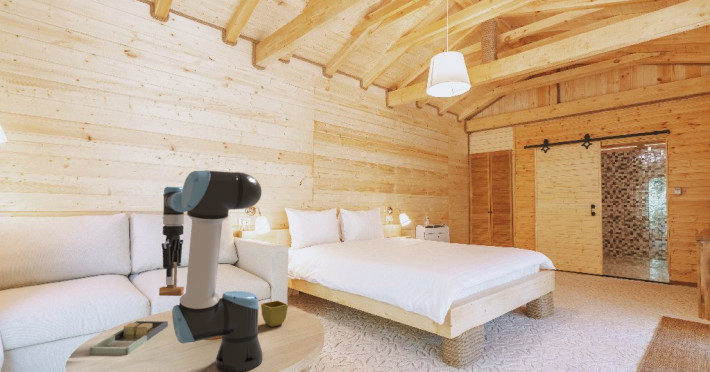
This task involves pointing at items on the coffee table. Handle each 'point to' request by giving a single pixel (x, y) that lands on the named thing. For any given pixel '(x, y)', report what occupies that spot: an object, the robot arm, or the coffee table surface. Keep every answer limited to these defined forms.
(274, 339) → the coffee table surface
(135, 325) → the tan cube
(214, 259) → the robot arm
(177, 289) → the bent wooden stick
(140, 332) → the light brown cube
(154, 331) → the dark grey shallow tray
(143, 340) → the tray
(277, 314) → the flower pot
